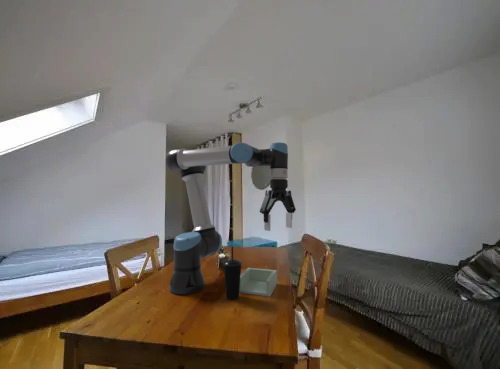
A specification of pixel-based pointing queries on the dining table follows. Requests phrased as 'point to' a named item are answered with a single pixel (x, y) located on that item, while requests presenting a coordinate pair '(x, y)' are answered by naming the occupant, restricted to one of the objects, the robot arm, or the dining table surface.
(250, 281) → the u rest
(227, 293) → the drinking cup
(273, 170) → the robot arm
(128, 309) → the dining table surface
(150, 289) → the dining table surface
